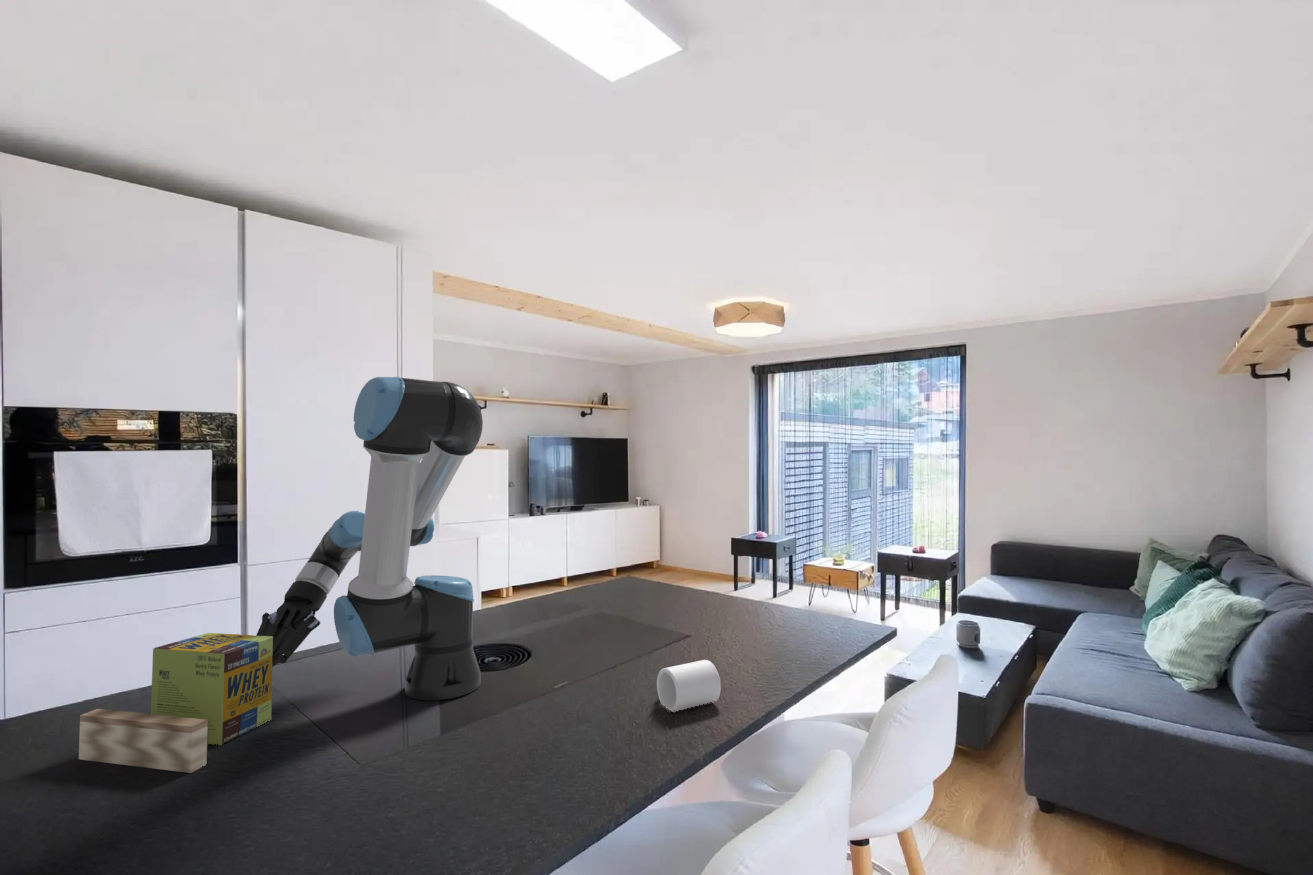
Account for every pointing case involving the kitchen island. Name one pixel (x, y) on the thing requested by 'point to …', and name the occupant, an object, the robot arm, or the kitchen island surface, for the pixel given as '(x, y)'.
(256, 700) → the protein box
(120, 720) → the rail
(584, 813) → the kitchen island surface
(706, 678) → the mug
